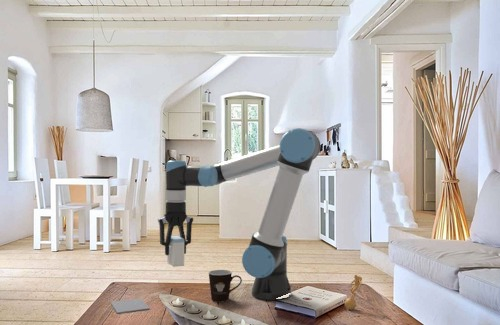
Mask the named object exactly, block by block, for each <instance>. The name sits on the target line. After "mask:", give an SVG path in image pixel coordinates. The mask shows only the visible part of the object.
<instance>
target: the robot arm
mask: <svg viewBox="0 0 500 325" xmlns="http://www.w3.org/2000/svg"><path fill="white" fill-rule="evenodd" d="M320 151H321V140H320V139H319V137H318V135H316V134H315V133H314V132H312V131H310V130H308V129H306V128H301V127H300V128H299V127H298V128H292V129H290V130H288V131H286V132H285V133H284V134H283V135H282V137H281V139H280V141H279V144H278V145H275V146H272V147H269V148H266V149H263V150H258V151H256V152H252V153H250V154H247V155H246V154H245V155H242V156H239V157H237V158H236V157H235V158H233V159H230V160H227V161H223V162H220V163H216V164H213V165H194V166H193V165H187V162H186V161H185V160H168V161H167V162H166V166H165V167H166V168H165V201H166V202H165V214H164V216H163V217H161V218H158V219H157V222H158V225H159V244H160V245H161V246H162V247H163V246H164V255H165V256H167V255H168V261H167V260H166V262H167V264H168V265H170V264H171V246H169V245H170V240H171V236H173V231H174V227H177V228H178V232H179V237H181V238H183V239H184V255H186V254H187V246H188V245H189V244H191V243H192V228H193V226H192V225H193V221H194V218H193V217H192V216H191V217H190V216H188V214H187V207H186V206H187V202H186V200H187V187H204V188H205V187H213V186H216V185H217V186H218V185H221V184H222V183H225V182H228V181H232V180H234V179H235V180H236V179H239V178H241V177H244V176H248V175H251V174H256V173H258V172H262V171H265V170H268V169H272V168H275V167H279V168H278V171H277V174H276V177H275V181H274V183H273V186H272V190H271V193H270V196H269V198H268V202H267V204H266V208H265V210H264V214H263V216H262V220H261V222H260V225H259V228H258V230H257V231H256V232H254V233H252V236H251V238H250V242H249V244H248V246H247V248H246V249H245V250H244V251H243V253H242V256H241V262H242V263H241V264H242V267H243V269H244V270H245V272H246V273H247V274H248V275H250V276H251V277H253V278H255V279H254V281H253V283H252V284H253V285H252V288H251V296H252V297H253V298H256V299H258V300H259V299H260V300H265V301H276V300H275V299H276V298H278V297H281V296H283V295H286V294H288V293H291V294H292V287H291V284H290V282H289V278H288V273H287V272H288V271H287V269H288V268H287V266H288V265H287V264H288V263H287V261H288V260H287V259H288V258H287V257H288V256H287V254H288V253H287V252H288V250H287V248H288V242H287V237H286V236H285V235H284V233H285V229H286V226H287V224H288V220H289V218H290V214H291V211H292V208H293V206H294V203H295V199H296V197H297V193H298V190H299V187H300V185H301V182H302V178H303V176H304V175H305V174H308V173H309V172H310V170H311V166H312V164H313V161H314V160H315V159H316V158H317V157H318V155H319V154H320ZM185 221H186V231H185V230H184V223H185ZM165 223H167V231H166V236H165ZM185 232H186V235H185Z"/></svg>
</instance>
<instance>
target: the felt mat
mask: <svg viewBox="0 0 500 325" xmlns="http://www.w3.org/2000/svg"><path fill="white" fill-rule="evenodd" d="M110 305H111V306H112V308H113V310H114V311H115V313H116V314H125V313H133V312H140V311H147V310H150V307H149V306H148V304H147V303H146V302H145V301H144V300H143V299H142V298H134V299H125V300H117V301H110Z"/></svg>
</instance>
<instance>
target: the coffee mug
mask: <svg viewBox="0 0 500 325" xmlns="http://www.w3.org/2000/svg"><path fill="white" fill-rule="evenodd" d="M232 274H233V271H232V270H228V269H214V270H210V271H208V279H209V280H208V281H209V289H210V296H211V297H210V298H211V299H210V300H211V301H213V302H215V301H216V302H217V303H223V302H222V301H224V302H228V301H230V300H229V299H230V293H231V292H233V291H234V290H236V289H238V287H240V286H241V284H242V283H243V282H242V280H243V279H242V277H241V276H240V275H233V276H232ZM235 278H239V280H240V282H239V283H238V284H237V285H236V286H234V287H233V288H231V282H232V281H233V279H235Z"/></svg>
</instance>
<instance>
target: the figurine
mask: <svg viewBox="0 0 500 325" xmlns="http://www.w3.org/2000/svg"><path fill="white" fill-rule="evenodd" d="M353 277H354V279H353V280H352V282H351V283H350V285H349V286H352V287H351V288H350V289H349V292H350V293H351V296H349V297H347V298H346V299H345V301H344V307H345V309H348V310H349V311H353V310H354V309H356V307H357V302H356V300H355V297H356V292H360V289H361V287H362V281H363V278H362V276H359V275H357V274H354V276H353ZM353 284H354V285H353Z"/></svg>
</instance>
